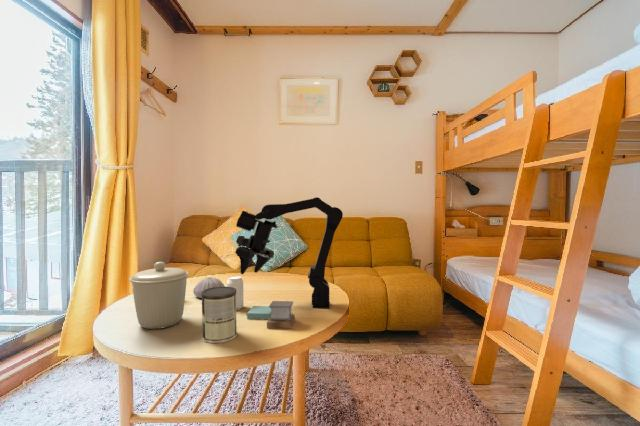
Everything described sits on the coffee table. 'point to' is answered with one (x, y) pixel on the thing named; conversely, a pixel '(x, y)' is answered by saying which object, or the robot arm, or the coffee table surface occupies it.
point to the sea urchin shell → (206, 285)
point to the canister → (159, 295)
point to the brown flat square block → (281, 324)
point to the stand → (259, 312)
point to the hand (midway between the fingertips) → (248, 273)
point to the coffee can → (219, 314)
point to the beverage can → (237, 289)
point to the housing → (281, 311)
